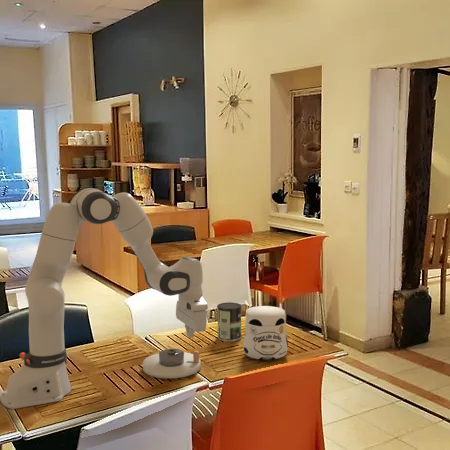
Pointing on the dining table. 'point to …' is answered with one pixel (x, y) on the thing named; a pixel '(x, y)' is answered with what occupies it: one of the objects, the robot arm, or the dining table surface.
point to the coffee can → (229, 321)
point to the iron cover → (171, 357)
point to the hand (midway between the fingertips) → (190, 336)
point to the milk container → (265, 333)
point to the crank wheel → (159, 371)
